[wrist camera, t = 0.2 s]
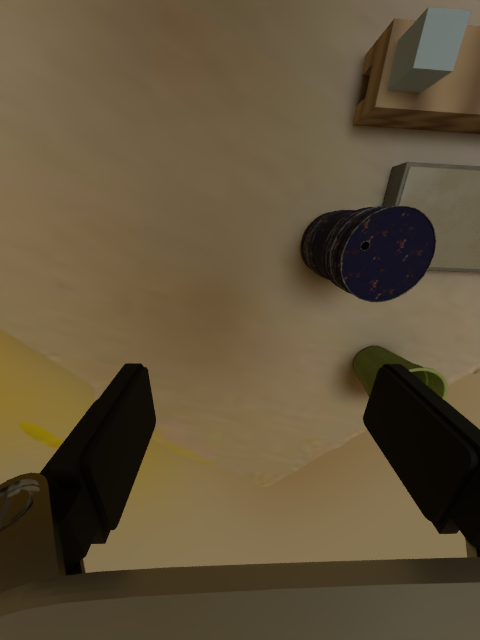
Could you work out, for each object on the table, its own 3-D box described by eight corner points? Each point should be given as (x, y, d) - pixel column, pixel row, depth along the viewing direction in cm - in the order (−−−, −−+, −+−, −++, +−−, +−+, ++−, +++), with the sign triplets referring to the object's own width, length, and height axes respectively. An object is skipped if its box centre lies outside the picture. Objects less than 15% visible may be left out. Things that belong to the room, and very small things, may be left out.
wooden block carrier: (351, 125, 31) (375, 107, 26) (365, 55, 28) (394, 18, 23) (503, 136, 32) (554, 119, 27) (530, 68, 29) (593, 37, 24)
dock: (392, 167, 33) (407, 161, 30) (547, 176, 34) (576, 172, 31) (366, 264, 38) (377, 268, 35) (500, 270, 39) (521, 273, 37)
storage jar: (372, 228, 36) (459, 232, 22) (338, 283, 40) (394, 316, 26) (320, 199, 34) (379, 184, 20) (288, 259, 38) (321, 281, 24)
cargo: (398, 39, 24) (428, 6, 20) (434, 43, 24) (471, 10, 20) (386, 90, 25) (413, 67, 22) (421, 92, 26) (452, 71, 22)
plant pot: (399, 376, 48) (445, 418, 38) (343, 388, 49) (373, 433, 39) (400, 327, 43) (453, 360, 33) (339, 342, 44) (371, 379, 34)
